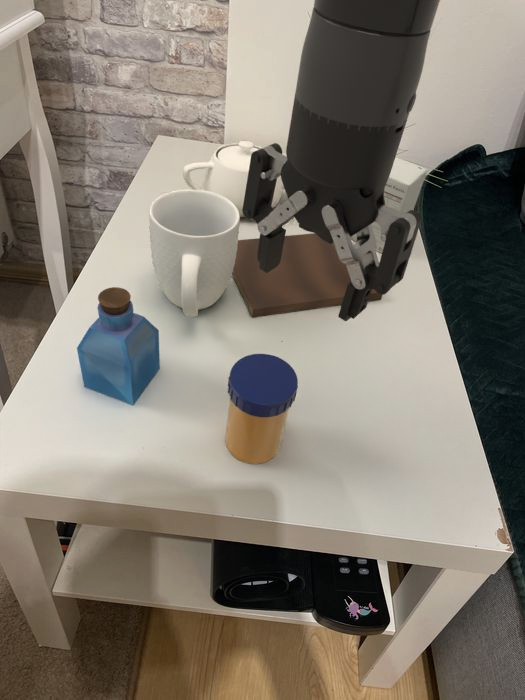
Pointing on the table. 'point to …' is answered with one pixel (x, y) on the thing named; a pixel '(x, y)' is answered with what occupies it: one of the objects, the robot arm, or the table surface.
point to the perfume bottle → (119, 349)
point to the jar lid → (262, 385)
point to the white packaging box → (400, 192)
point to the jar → (253, 435)
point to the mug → (193, 246)
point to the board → (292, 276)
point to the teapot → (229, 173)
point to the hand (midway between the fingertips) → (307, 290)
